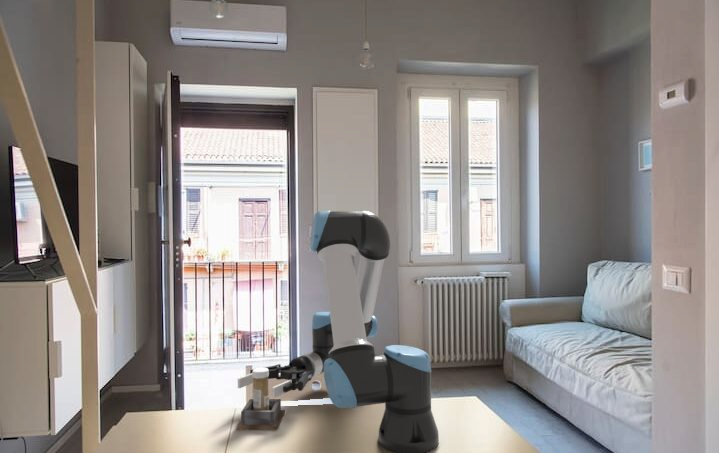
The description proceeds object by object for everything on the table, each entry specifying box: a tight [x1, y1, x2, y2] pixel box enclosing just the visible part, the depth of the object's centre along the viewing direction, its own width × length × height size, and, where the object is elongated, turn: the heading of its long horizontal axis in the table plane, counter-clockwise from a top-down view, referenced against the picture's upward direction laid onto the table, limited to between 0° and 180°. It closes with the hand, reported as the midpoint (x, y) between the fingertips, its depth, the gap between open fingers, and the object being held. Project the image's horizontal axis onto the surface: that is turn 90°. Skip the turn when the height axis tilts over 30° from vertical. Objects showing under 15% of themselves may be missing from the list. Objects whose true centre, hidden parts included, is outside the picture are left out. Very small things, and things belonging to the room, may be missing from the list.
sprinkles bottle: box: [252, 367, 270, 410], centre depth 126 cm, size 5×5×13 cm
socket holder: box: [235, 398, 286, 431], centre depth 125 cm, size 11×11×4 cm
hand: (255, 387), depth 124 cm, fingers open, 13 cm apart
